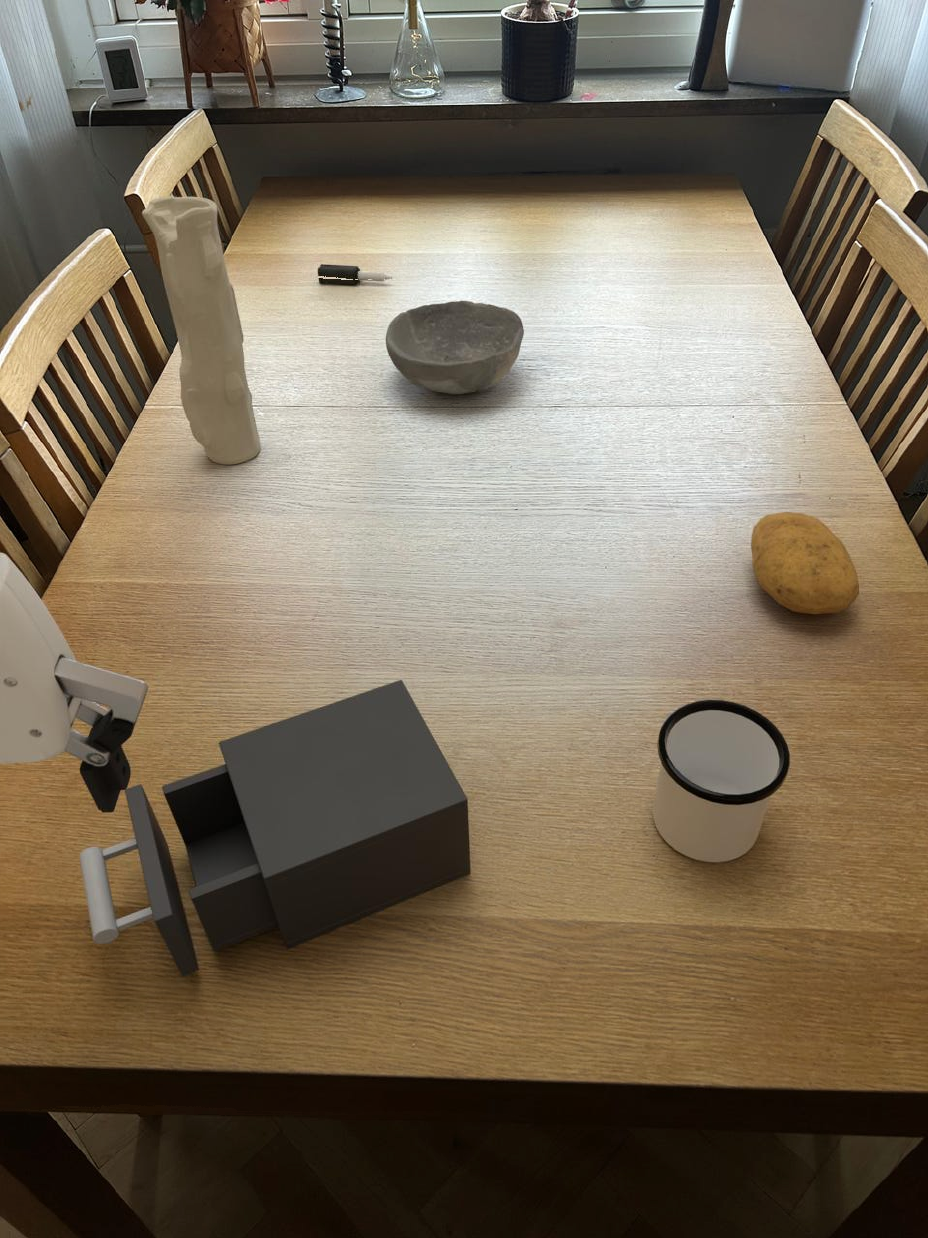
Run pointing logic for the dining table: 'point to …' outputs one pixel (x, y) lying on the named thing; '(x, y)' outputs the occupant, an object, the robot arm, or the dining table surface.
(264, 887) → the drawer front with handle
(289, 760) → the dark grey drawer box
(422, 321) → the bowl
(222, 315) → the vase
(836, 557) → the potato
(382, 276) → the black and grey marker
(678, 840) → the mug
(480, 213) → the dining table surface
